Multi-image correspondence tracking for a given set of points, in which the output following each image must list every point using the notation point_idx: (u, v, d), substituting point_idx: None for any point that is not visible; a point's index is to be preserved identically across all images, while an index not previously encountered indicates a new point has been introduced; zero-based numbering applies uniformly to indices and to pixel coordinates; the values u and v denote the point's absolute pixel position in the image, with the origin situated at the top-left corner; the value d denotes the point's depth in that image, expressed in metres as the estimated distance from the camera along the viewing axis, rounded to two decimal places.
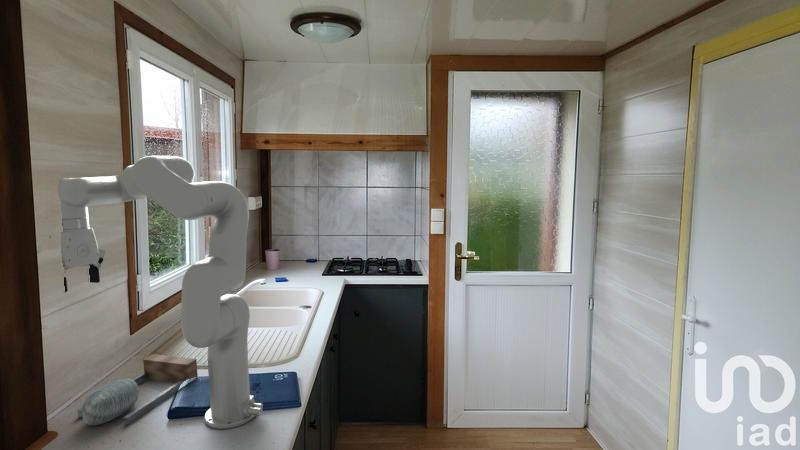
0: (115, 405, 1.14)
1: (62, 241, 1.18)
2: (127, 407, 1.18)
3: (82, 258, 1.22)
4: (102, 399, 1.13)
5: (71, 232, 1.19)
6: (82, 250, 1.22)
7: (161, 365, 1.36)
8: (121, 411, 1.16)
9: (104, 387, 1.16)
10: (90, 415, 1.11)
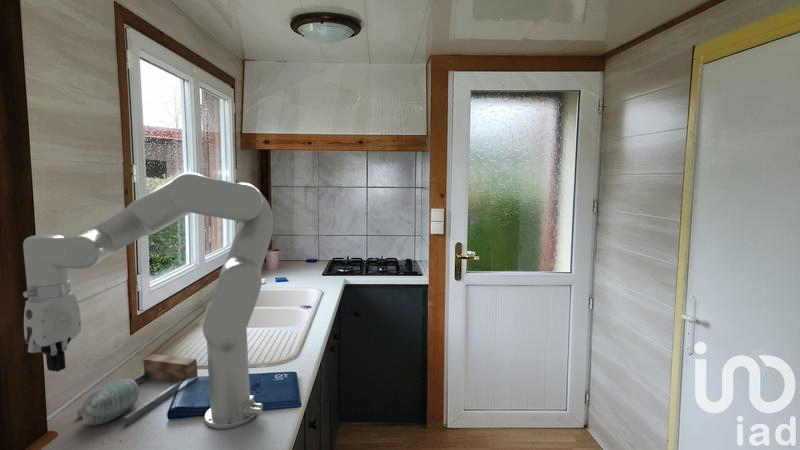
0: (115, 405, 1.14)
1: (36, 314, 0.97)
2: (127, 407, 1.18)
3: (60, 331, 1.01)
4: (102, 400, 1.13)
5: (47, 302, 0.98)
6: (61, 322, 1.01)
7: (161, 365, 1.36)
8: (121, 411, 1.16)
9: (104, 387, 1.16)
10: (90, 415, 1.11)
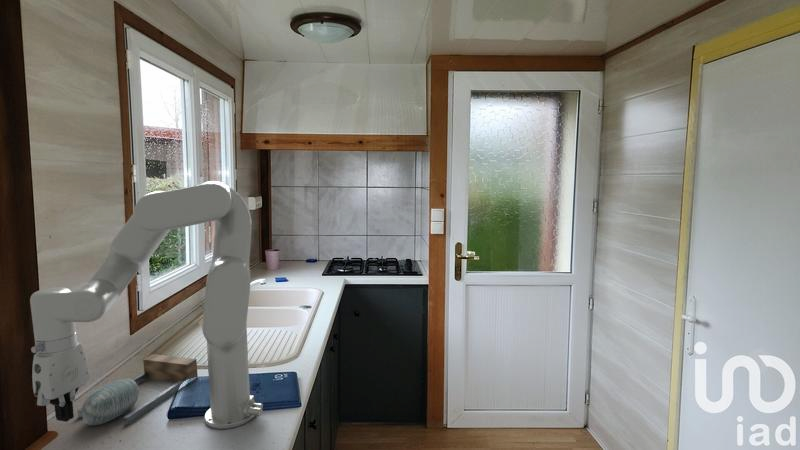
0: (115, 406, 1.14)
1: (44, 368, 0.99)
2: (127, 407, 1.18)
3: (68, 383, 1.03)
4: (102, 400, 1.13)
5: (55, 355, 1.00)
6: (69, 373, 1.03)
7: (161, 365, 1.36)
8: (121, 411, 1.16)
9: (104, 387, 1.16)
10: (90, 415, 1.11)
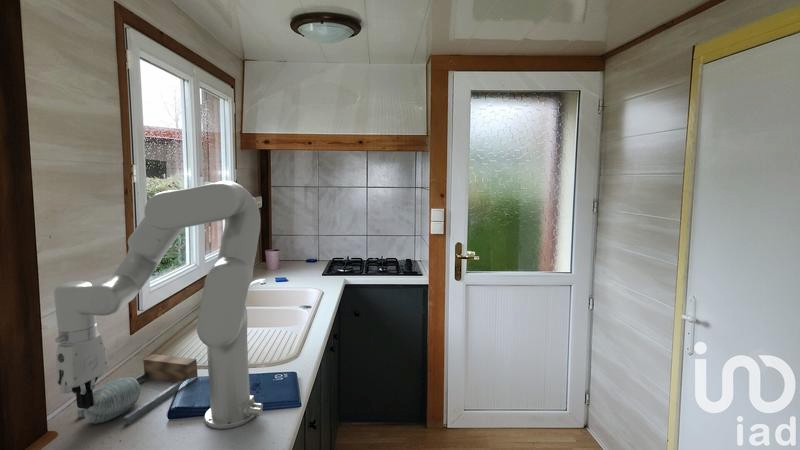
0: (117, 404, 1.15)
1: (67, 357, 1.04)
2: (129, 405, 1.18)
3: (89, 372, 1.08)
4: (104, 398, 1.13)
5: (77, 346, 1.06)
6: (90, 363, 1.09)
7: (161, 365, 1.36)
8: (123, 409, 1.16)
9: (106, 385, 1.17)
10: (92, 414, 1.12)
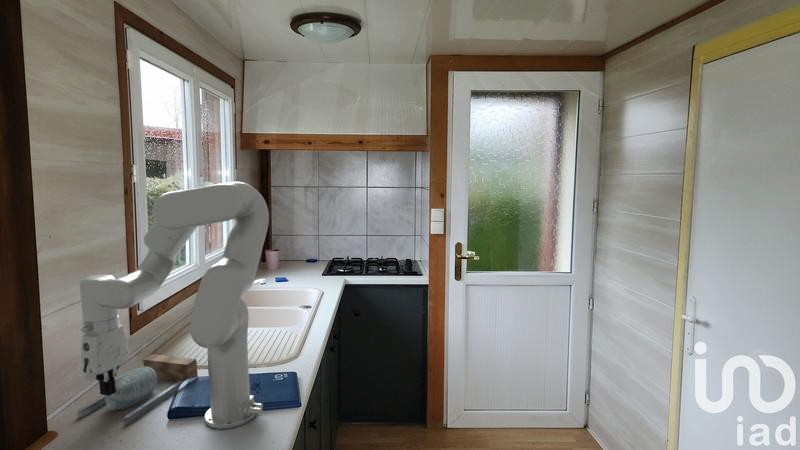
0: (137, 391, 1.21)
1: (92, 346, 1.10)
2: (147, 393, 1.24)
3: (112, 360, 1.15)
4: (124, 386, 1.20)
5: (101, 335, 1.12)
6: (113, 352, 1.15)
7: (161, 365, 1.36)
8: (142, 397, 1.23)
9: (125, 374, 1.23)
10: (113, 400, 1.18)
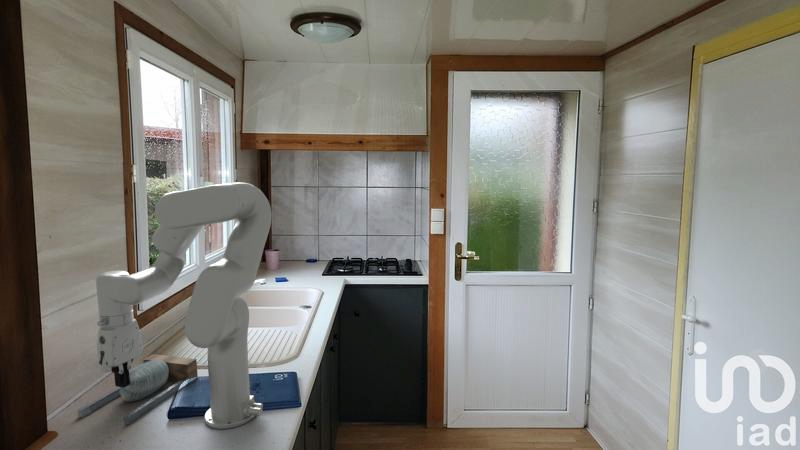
0: (150, 383, 1.26)
1: (108, 339, 1.14)
2: (159, 385, 1.29)
3: (127, 353, 1.19)
4: (138, 378, 1.24)
5: (117, 329, 1.16)
6: (127, 345, 1.19)
7: None
8: (154, 389, 1.27)
9: (139, 367, 1.28)
10: (128, 392, 1.23)
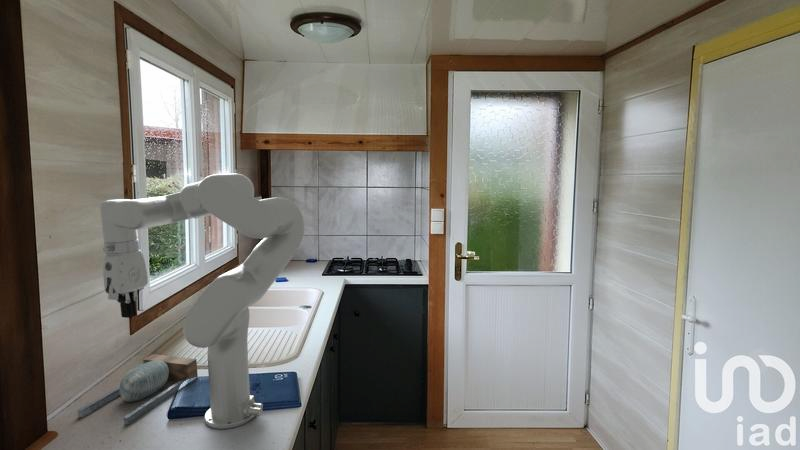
0: (150, 384, 1.26)
1: (115, 265, 1.13)
2: (160, 386, 1.29)
3: (133, 282, 1.18)
4: (138, 378, 1.24)
5: (123, 256, 1.15)
6: (133, 274, 1.18)
7: None
8: (155, 389, 1.27)
9: (139, 367, 1.28)
10: (128, 392, 1.23)
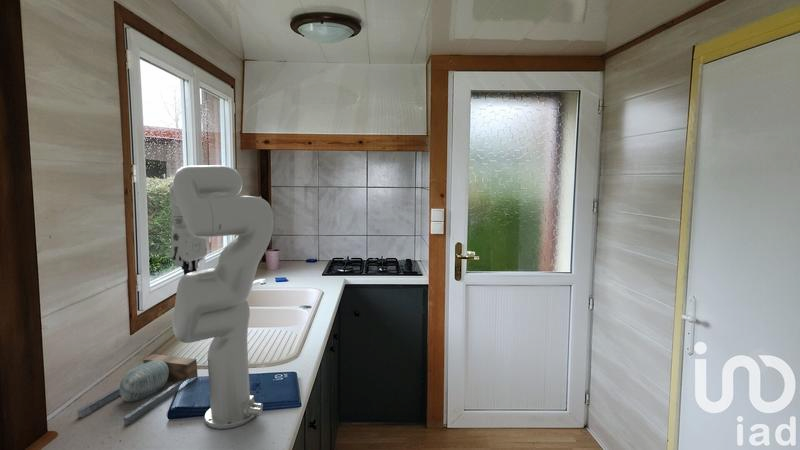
0: (150, 384, 1.26)
1: (181, 236, 1.30)
2: (160, 386, 1.29)
3: (195, 252, 1.35)
4: (138, 378, 1.24)
5: None
6: (196, 245, 1.35)
7: None
8: (155, 389, 1.27)
9: (139, 367, 1.28)
10: (128, 392, 1.23)
